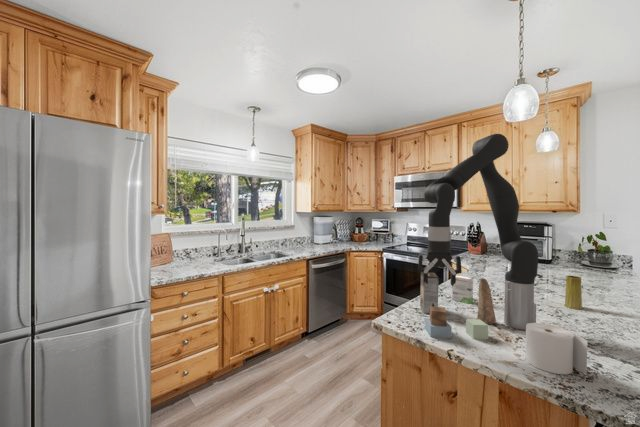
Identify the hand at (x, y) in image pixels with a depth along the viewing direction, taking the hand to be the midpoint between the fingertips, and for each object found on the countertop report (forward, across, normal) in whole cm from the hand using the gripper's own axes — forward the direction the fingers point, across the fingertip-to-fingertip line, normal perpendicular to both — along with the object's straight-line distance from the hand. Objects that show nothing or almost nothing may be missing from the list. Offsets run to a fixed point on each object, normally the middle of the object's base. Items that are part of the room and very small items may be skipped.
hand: (439, 284), depth 99 cm
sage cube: (+18, -13, -2) cm, 22 cm away
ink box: (+18, -16, -43) cm, 50 cm away
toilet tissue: (+19, -28, +12) cm, 36 cm away
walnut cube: (+14, 0, 0) cm, 14 cm away
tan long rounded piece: (+18, -20, -17) cm, 32 cm away
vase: (+19, -64, -49) cm, 83 cm away
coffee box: (+18, +1, -24) cm, 30 cm away
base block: (+18, 0, 0) cm, 18 cm away
